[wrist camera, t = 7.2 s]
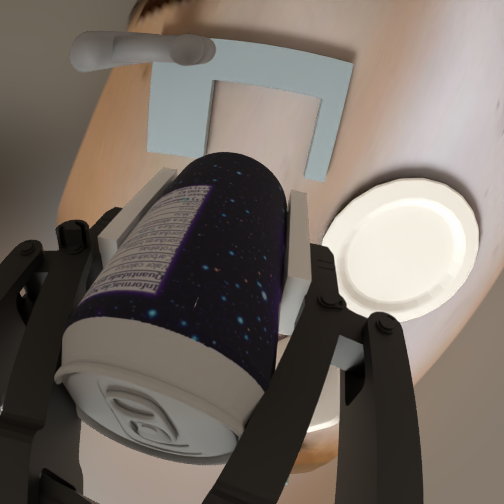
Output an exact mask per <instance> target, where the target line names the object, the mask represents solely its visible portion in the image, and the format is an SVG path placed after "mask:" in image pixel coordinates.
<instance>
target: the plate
mask: <svg viewBox="0 0 504 504" xmlns="http://www.w3.org/2000/svg"><path fill="white" fill-rule="evenodd" d="M321 245H322V246H326V247H328V248H329V249H330V251H331V252H332V253H333V255H334V261H335V267H336V274H337V282H338V289H339V294H340V295H341V296H342V297H343V298H344V299H345V301H346V303H347V308H348V309H350V310H351V311H353V312H355V313H357V314H359V315H361V316H364V317H366V318H368V317H369V316H370V315H371V313H374V312H385V313H388V314H390V315H392V316H393V317H395V318H396V319H397V320H398V322H404V321H407V320H410V319H414V318H417V317H420V316H423V315H424V314H426V313H428V312H430V311H432V310H434V309H436V308H438V307H439V306H440V305H442V304H443V303H444V302H446V301H447V300H448V299H449V298H451V297H452V296H453V295H454V294H455V293H456V291H457V290H458V289H459V288H460V287H461V286H462V284H463V283H464V282H465V281H466V279H467V277H468V275H469V273H470V272H471V270H472V268H473V266H474V264H475V260H476V256H477V252H478V248H479V227H478V224H477V221H476V218H475V215H474V212H473V210H472V208H471V207H470V205H469V204H468V203H467V201H466V200H465V199H464V197H463V196H462V195H461V194H459V193H458V192H457V191H455V190H454V189H452V188H451V187H449V186H448V185H446V184H445V183H442V182H438V181H434V180H431V179H427V178H424V177H423V178H398V179H395V180H392V181H388V182H385V183H382V184H379V185H375V186H374V187H372V188H370V189H369V190H367V191H365V192H364V193H362V194H360V195H359V196H357V197H355V198H354V199H352V200H351V201H350V203H349V204H348V205H347V206H346V207H345V208H344V209H343V210H342V211H341V212H340V213H339V214H338V215H337V216H336V217H335V218H334V220H333V221H332V223H331V225H330V227H329V228H328V230H327V232H326V233H325V235H324V237H323V240H322V244H321Z"/></svg>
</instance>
